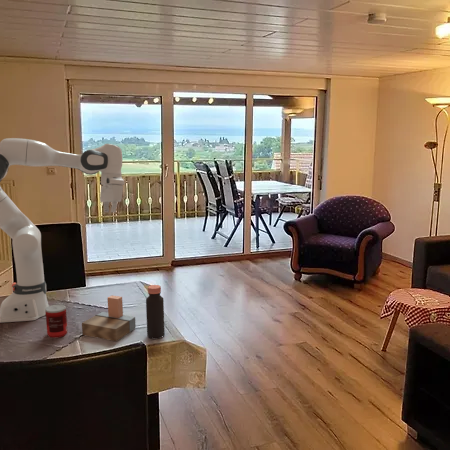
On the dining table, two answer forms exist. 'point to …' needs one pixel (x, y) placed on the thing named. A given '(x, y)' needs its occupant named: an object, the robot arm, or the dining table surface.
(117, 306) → the stub
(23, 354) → the dining table surface
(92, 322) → the block
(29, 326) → the dining table surface
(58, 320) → the canned food
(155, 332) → the bottle
